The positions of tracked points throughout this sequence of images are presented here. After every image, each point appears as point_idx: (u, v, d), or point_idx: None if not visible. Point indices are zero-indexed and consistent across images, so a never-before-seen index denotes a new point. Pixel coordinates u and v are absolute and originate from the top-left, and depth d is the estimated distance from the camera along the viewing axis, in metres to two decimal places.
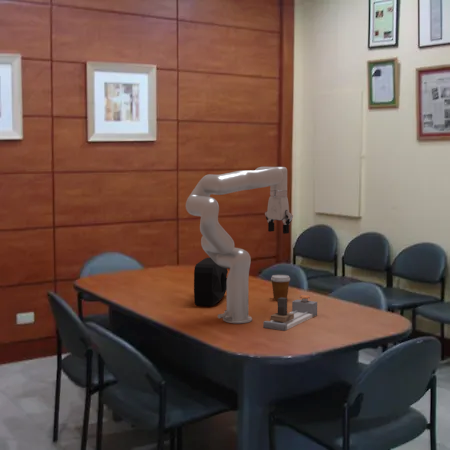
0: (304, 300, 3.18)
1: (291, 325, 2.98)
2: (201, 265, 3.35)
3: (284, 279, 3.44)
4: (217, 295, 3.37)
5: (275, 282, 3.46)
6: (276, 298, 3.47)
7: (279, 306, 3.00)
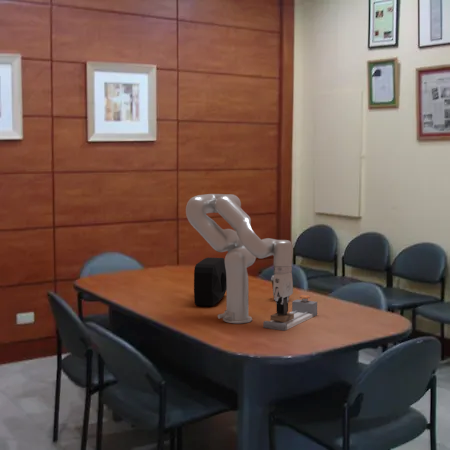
0: (304, 300, 3.18)
1: (291, 325, 2.98)
2: (201, 265, 3.35)
3: None
4: (217, 295, 3.37)
5: None
6: None
7: None
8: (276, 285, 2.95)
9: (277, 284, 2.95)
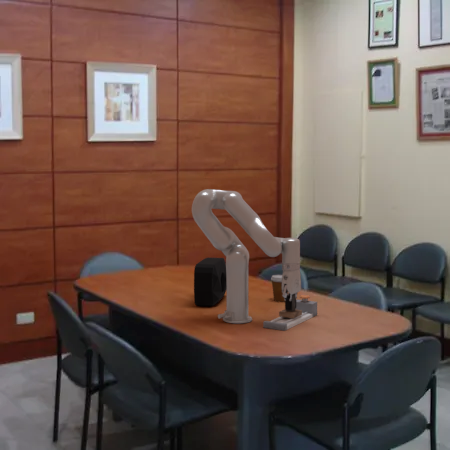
0: (304, 300, 3.18)
1: (291, 325, 2.98)
2: (201, 265, 3.35)
3: None
4: (217, 295, 3.37)
5: (275, 282, 3.45)
6: (276, 298, 3.47)
7: None
8: (284, 282, 3.02)
9: (286, 281, 3.02)
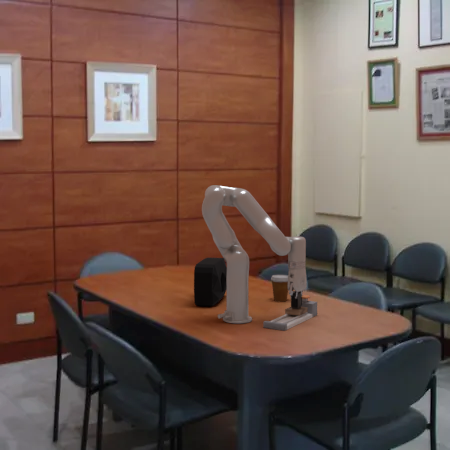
0: (304, 300, 3.18)
1: (291, 325, 2.98)
2: (201, 265, 3.35)
3: (284, 279, 3.44)
4: (217, 295, 3.37)
5: (275, 282, 3.45)
6: (276, 298, 3.47)
7: None
8: (290, 280, 3.07)
9: (292, 279, 3.07)
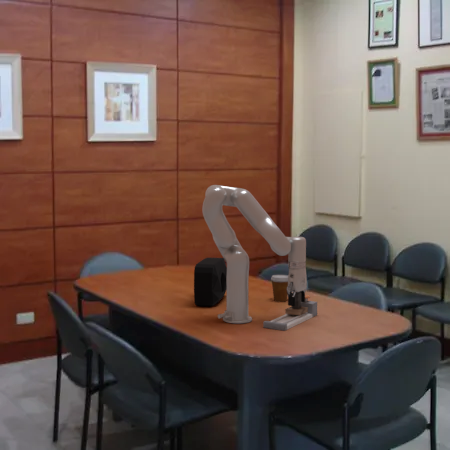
0: None
1: (291, 325, 2.98)
2: (201, 265, 3.35)
3: (284, 279, 3.44)
4: (217, 295, 3.37)
5: (275, 282, 3.46)
6: (276, 298, 3.47)
7: None
8: (290, 280, 3.07)
9: (292, 279, 3.07)
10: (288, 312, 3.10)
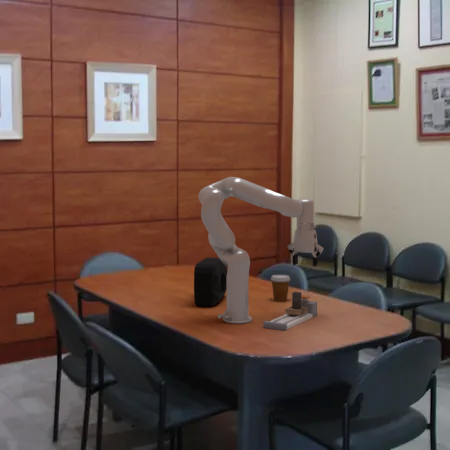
0: (304, 300, 3.18)
1: (291, 325, 2.98)
2: (201, 265, 3.35)
3: (284, 279, 3.44)
4: (217, 295, 3.37)
5: (275, 282, 3.46)
6: (276, 298, 3.47)
7: (293, 300, 3.11)
8: (315, 241, 3.13)
9: (315, 239, 3.13)
10: (288, 312, 3.10)
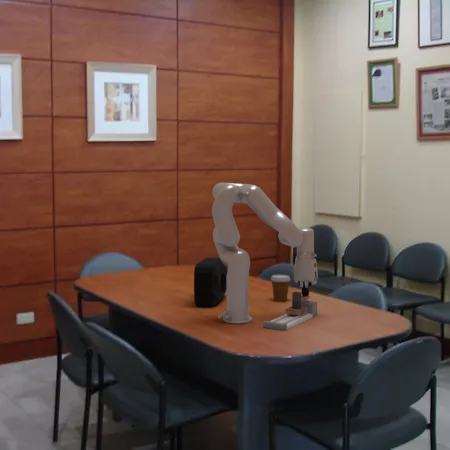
0: (304, 300, 3.18)
1: (291, 325, 2.98)
2: (201, 265, 3.35)
3: (284, 279, 3.44)
4: (217, 295, 3.37)
5: (275, 282, 3.45)
6: (276, 298, 3.47)
7: (293, 300, 3.11)
8: (315, 270, 3.15)
9: (315, 268, 3.15)
10: (288, 312, 3.10)
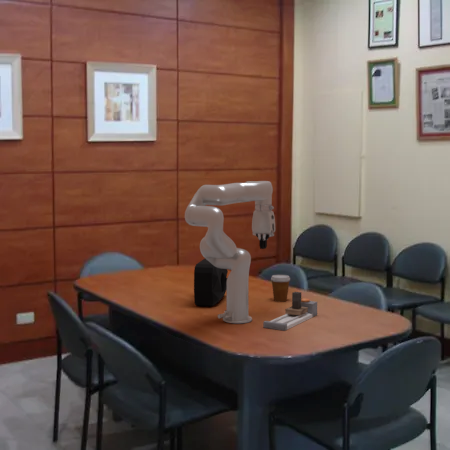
0: None
1: (291, 325, 2.98)
2: (201, 265, 3.35)
3: (284, 279, 3.44)
4: (217, 295, 3.37)
5: (275, 282, 3.46)
6: (276, 298, 3.47)
7: (293, 300, 3.11)
8: (272, 222, 3.19)
9: (273, 221, 3.20)
10: (288, 312, 3.10)
